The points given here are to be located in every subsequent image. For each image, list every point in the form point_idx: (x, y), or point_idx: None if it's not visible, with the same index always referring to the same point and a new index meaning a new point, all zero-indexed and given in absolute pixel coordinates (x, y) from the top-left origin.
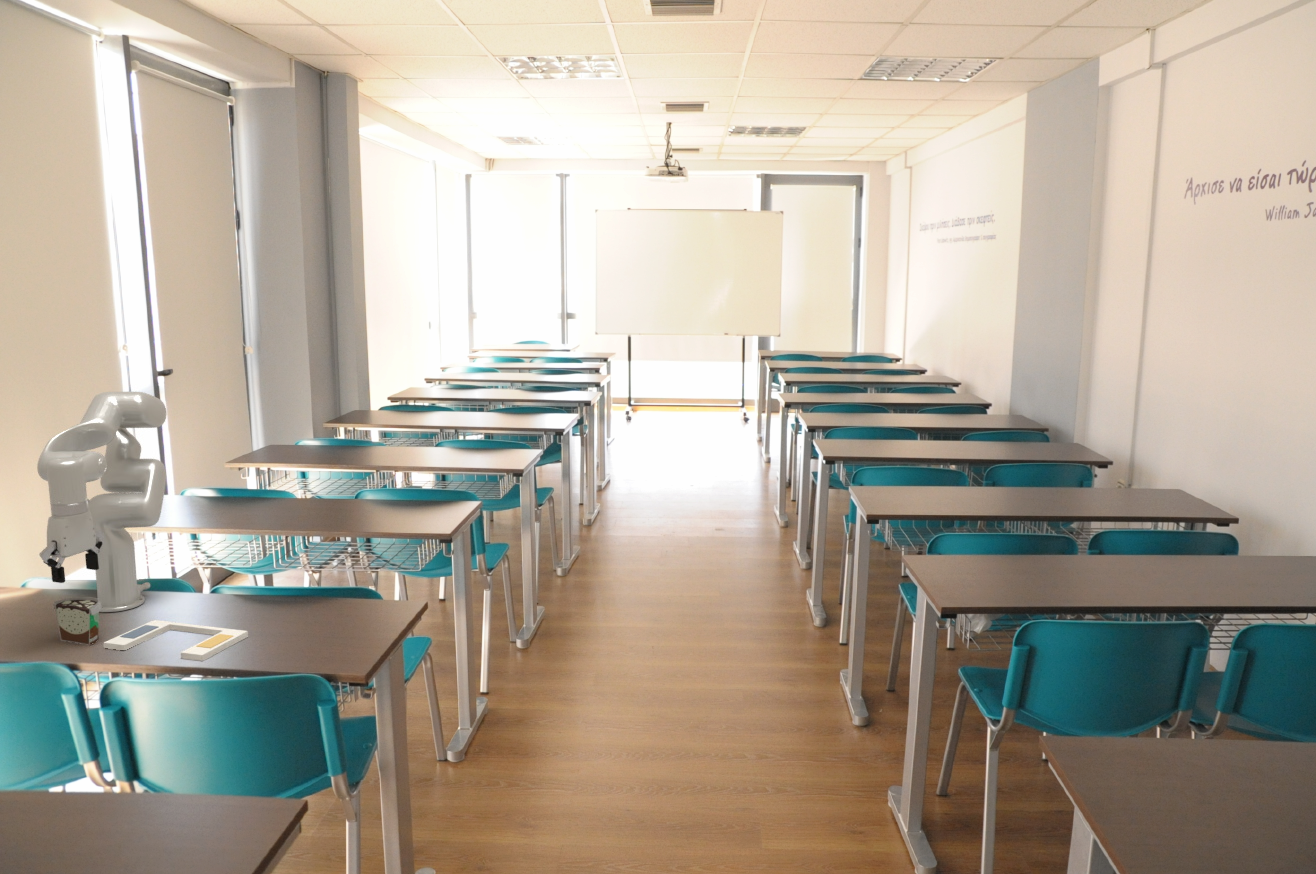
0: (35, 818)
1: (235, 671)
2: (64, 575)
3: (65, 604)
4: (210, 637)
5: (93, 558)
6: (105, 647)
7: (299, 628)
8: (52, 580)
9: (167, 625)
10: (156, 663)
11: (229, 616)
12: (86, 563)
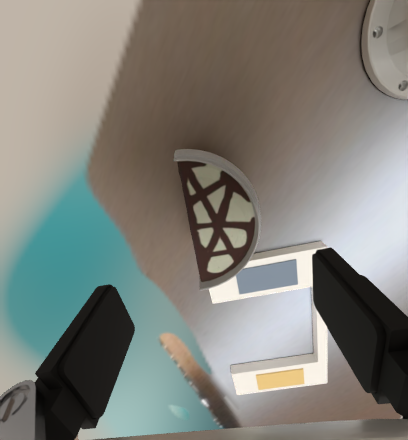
0: None
1: (231, 419)
2: (122, 359)
3: (195, 185)
4: (289, 366)
5: (352, 361)
6: None
7: (368, 396)
8: (97, 288)
9: (310, 286)
10: (205, 355)
11: (395, 304)
12: (329, 275)
